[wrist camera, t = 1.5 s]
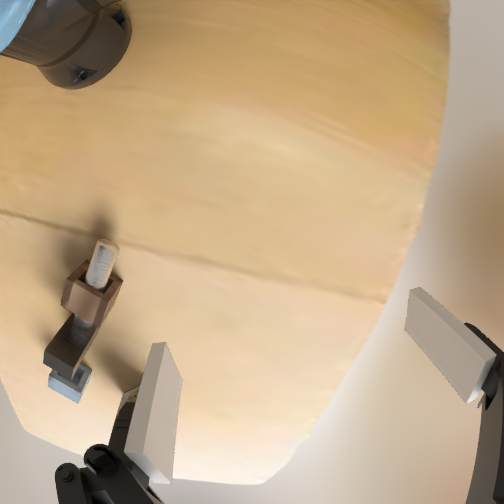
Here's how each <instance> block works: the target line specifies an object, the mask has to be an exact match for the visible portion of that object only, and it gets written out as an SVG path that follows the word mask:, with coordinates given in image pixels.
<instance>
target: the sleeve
mask: <svg viewBox="0 0 504 504" xmlns="http://www.w3.org/2000/svg"><path fill="white" fill-rule="evenodd" d="M89 265H90V262H89V261H87V260H86V261H85V262H84V263H83V264H82V265H81V266H80V267H78V268H77V269H76V270H75V271H74V272H73V273H72V274H71V275H70V276H69V277H68V278H67V280H66V284H65V288H64V292H63V296H62V300H61V306H63V307H64V308H66V309H68V310H69V311H71V312H73V313H74V314H76V315H78V316H79V317H81V318H83V319H85V320H86V321H88V322H90V323H92V324H93V325H95V326H97V327H99V328H100V326H101V325H102V323H103V321H104V320H105V318H106V317H107V315H108V313H109V312H110V310H111V308H112V307H113V305H114V303H115V300H116V298H117V295H118V293H119V290H120V287H121V285H122V282H123V281H122V280H121V279H119V278H117V277H115V276H113V275H111V274H110V276H109V278H108V281H107V284H106V287H105V289H104V292H103V294H102V293H100V292H99V291H97V290H95V289H93V288H92V287H90V286H88V285H87V284H85V283H84V281H85V277H86V274H87V271H88V268H89Z"/></svg>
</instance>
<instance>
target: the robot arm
mask: <svg viewBox="0 0 504 504" xmlns="http://www.w3.org/2000/svg"><path fill="white" fill-rule="evenodd" d="M117 1H119V0H0V55H3V56H6V57H10V58H13V59H17V60H20V61H23V62H26V63H29V64H33V65H36V66H37V67H38V68H39V70H40V71H41V73H42V74H43V75H44V77H45V78H46V79H47V80H48V81H49V82H50V83H52V84H53V85H56V86H58V87H61V88H65V89H80V88H84V87H87V86H89V85H92V84H94V83H95V82H97V81H99V80H100V79H102V78H103V77H104V76H106V75H107V74H108V73H109V72H110V71H111V70H112V69H113V68H114V67H115V66H116V65H117V64H118V63H119V61H120V60H121V58H122V57H123V55H124V54H125V52H126V50H127V48H128V45H129V42H130V39H131V32H132V27H131V22H130V19H129V17H128V15H127V14H126V13H125V11H124V10H123V9H122V8H121V7H120V6H119V5H117V4H116V3H115V2H117ZM405 331H406V332H407V333H408V334H409V336H410V337H411V338H412V339H413V340H414V341H415V342H416V344H417V345H418V346H419V347H420V348H421V349H422V351H423V352H424V353H425V354H426V355H427V357H428V358H429V359H430V360H431V361H432V362H433V364H434V365H435V366H436V367H437V368H438V370H439V371H440V372H441V373H442V374H443V376H444V377H445V378H446V379H447V381H448V382H449V383H450V384H451V386H452V387H453V388H454V389H455V391H456V392H457V393H458V395H459V396H460V397H461V398H462V400H463V401H464V402H465V403H466V404H467V403H469V402H471V401H472V400H474V399H475V398H477V396H478V394H479V393H480V391H481V389H482V390H483V391H484V392H485V393H484V395H483V396H482V398H481V400H480V402H479V404H478V407H477V408H479V407H480V405H481V404H482V414H481V425H480V434H479V442H478V449H477V455H476V461H475V466H474V471H473V476H472V480H471V485H470V489H469V493H468V497H467V500H466V504H504V352H502V350H500V348H498V347H497V346H496V345H495V344H494V343H493V342H492V341H491V340H490V339H489V338H486V336H485V335H484V334H483V333H481V331H480V330H479V329H478V328H477V327H475V326H474V325H471V324H469V323H464V324H463V323H462V322H461V321H460V320H458V319H457V318H456V317H455V316H454V315H453V314H452V313H451V312H449V311H448V310H447V309H446V308H445V307H444V306H442V305H441V304H440V303H439V302H438V301H437V300H435V299H434V298H433V297H432V296H431V295H429V294H428V293H427V292H426V291H425V290H423V289H422V288H421V287H418V288H415V289H411V290H409V300H408V308H407V316H406V323H405ZM181 386H182V378H181V376H180V373H179V371H178V369H177V367H176V364H175V362H174V360H173V357H172V355H171V352H170V350H169V348H168V345H167V343H166V342H162V343H154V344H152V347H151V350H150V353H149V357H148V360H147V364H146V367H145V371H144V374H143V378H142V381H141V385H140V389H139V392H138V396H137V400H136V402H126V403H125V404H124V405H123V406H122V408H121V409H120V410H119V413H118V417H117V421H116V424H115V429H114V431H113V434H112V438H111V442H110V445H109V446H107V445H104V444H96V445H93V446H91V447H90V448H89V449H87V451H86V453H85V454H84V463H85V465H86V466H87V467H86V468H80V469H79V468H78V467H76V466H75V465H74V464H72V463H64V464H62V465H60V466H59V467H58V468H57V470H56V472H55V483H56V489H57V495H58V501H59V504H164V503H163V501H162V500H161V499H160V498H159V497H158V496H157V494H156V493H155V492H154V491H153V490H152V488H151V487H150V486H149V485H148V483H149V478H150V479H151V480H152V481H153V482H154V483H167V484H170V483H171V484H172V474H173V462H174V450H175V439H176V429H177V420H178V411H179V402H180V394H181Z"/></svg>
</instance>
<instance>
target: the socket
mask: <svg viewBox="0 0 504 504" xmlns="http://www.w3.org/2000/svg"><path fill="white" fill-rule="evenodd" d="M91 371H92V369H90V368H88V367H86V366H84V365H82V364H80V365H79V367H78V368H77V370H76V372H75V374H74V376H73V378H72V380H71V379H69V378H67V377H65V376H64V375H62V374H60V373H58V372H57V371H55V370H53V369H52V371H51V373H50V374H49V381H48V387H50V388H51V389H53V390H55V391H56V392H58V393H60V394H62V395H63V396H65V397H67V398H69V399H71V400H72V401H74V402H76V403H79V401H80V399H81V397H82V394H83V392H84V390H85V388H86V386H87V384H88V381H89V378H90V375H91Z"/></svg>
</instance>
